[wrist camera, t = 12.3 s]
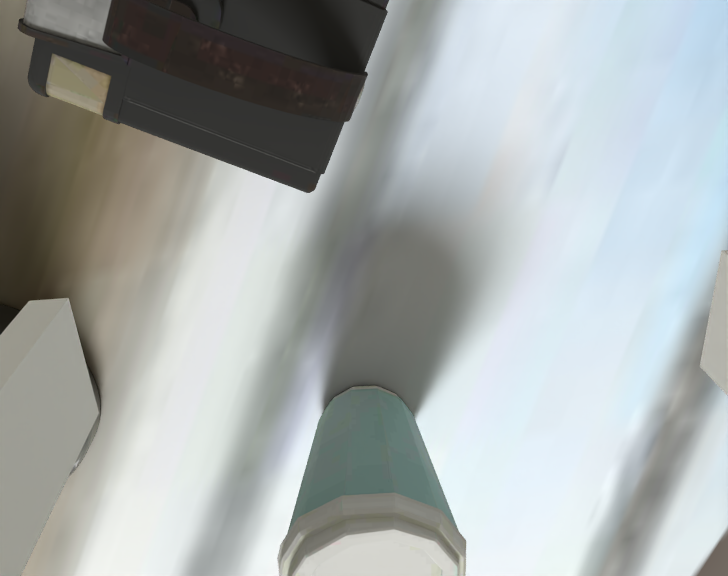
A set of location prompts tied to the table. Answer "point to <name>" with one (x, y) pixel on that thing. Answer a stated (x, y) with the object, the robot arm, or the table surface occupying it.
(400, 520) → the disposable coffee cup
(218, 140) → the camera
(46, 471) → the robot arm
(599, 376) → the table surface
